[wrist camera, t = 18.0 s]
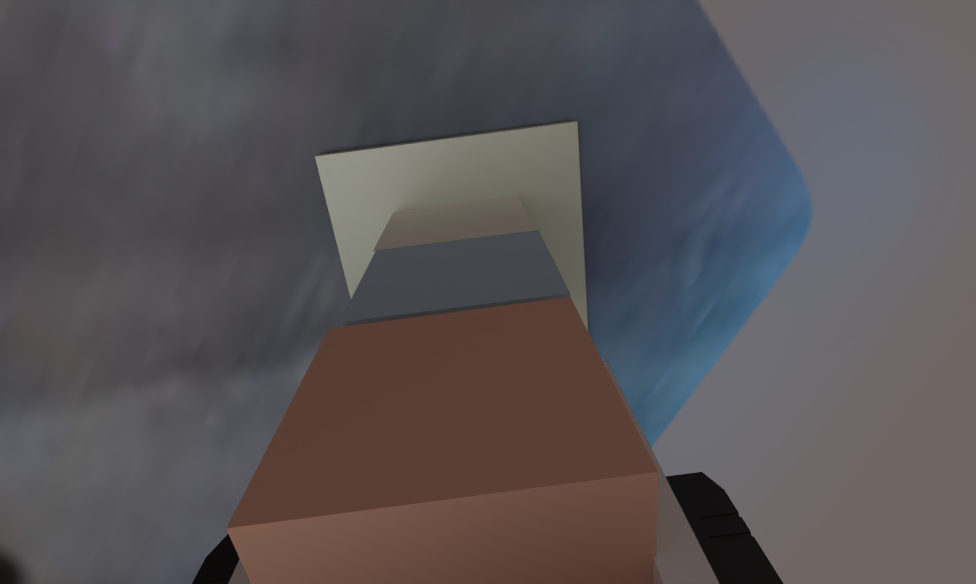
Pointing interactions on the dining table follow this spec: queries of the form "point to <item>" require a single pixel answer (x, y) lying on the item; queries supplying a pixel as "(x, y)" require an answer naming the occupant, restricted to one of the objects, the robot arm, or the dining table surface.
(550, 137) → the plate
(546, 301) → the block
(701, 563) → the robot arm
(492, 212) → the block
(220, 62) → the dining table surface
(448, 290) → the block
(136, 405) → the dining table surface
